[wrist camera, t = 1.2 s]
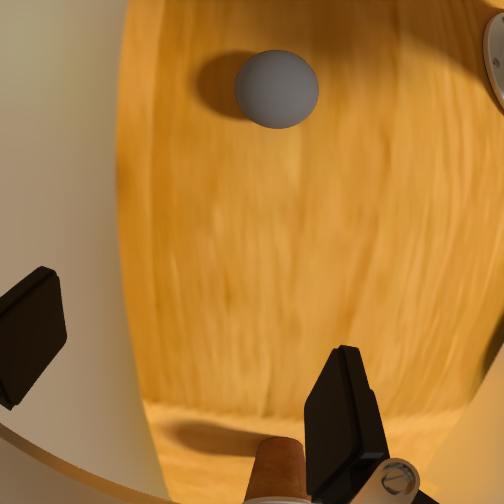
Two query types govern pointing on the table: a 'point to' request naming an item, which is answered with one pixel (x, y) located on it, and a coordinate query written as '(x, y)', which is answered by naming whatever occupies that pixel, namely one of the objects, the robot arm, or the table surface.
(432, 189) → the table surface
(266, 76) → the gray ball
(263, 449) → the disposable coffee cup
